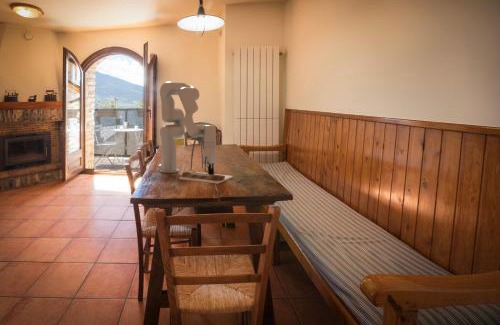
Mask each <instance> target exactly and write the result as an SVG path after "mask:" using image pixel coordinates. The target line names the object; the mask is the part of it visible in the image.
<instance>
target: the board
mask: <svg viewBox="0 0 500 325" xmlns="http://www.w3.org/2000/svg"><path fill="white" fill-rule="evenodd" d="M195 172H196V173H202V172H200V171H195ZM204 173H205V174H208V172H204ZM214 175H221V174H217V173H214ZM222 175H223V176H225V179H223V180H222V181H214V180H205V179H197V178H188V177H182V176H179V178H178V179H179V180H185V181H192V182H200V183H210V184H220V183H223V182H226V181H228V180H230V179H234V175H228V174H222Z"/></svg>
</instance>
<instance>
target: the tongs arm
mask: <svg viewBox="0 0 500 325" xmlns="http://www.w3.org/2000/svg"><path fill="white" fill-rule="evenodd" d="M196 172H197V171H195V172H193V173H194V174H203V175H212V176H221V177H222V180H223V179H225V176H223V175H224V174H220V175H214V174H215V173H214V174H205V173H206V172H201V173H196Z"/></svg>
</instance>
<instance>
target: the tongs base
mask: <svg viewBox="0 0 500 325" xmlns="http://www.w3.org/2000/svg"><path fill="white" fill-rule="evenodd" d="M181 174H182V176H181V177H188V178H197V179H205V180H214V181H222V177H221V176H212V175H203V174H194V172H190V171H184V172H182V173H181Z"/></svg>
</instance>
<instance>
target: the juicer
mask: <svg viewBox="0 0 500 325" xmlns="http://www.w3.org/2000/svg"><path fill="white" fill-rule="evenodd" d="M196 142H197V143H198V146H200V153H201V154H200V156H201V169H203V168H204V171H205V172H206V171H207V166H206V164H204V163H203V151H204V137H203V136H202V137H194V140H193V144H192V149H191V156H190V157H191V158H190V171H192V169H193V159H194V152H195V151H194V150H195V145H196Z"/></svg>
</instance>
